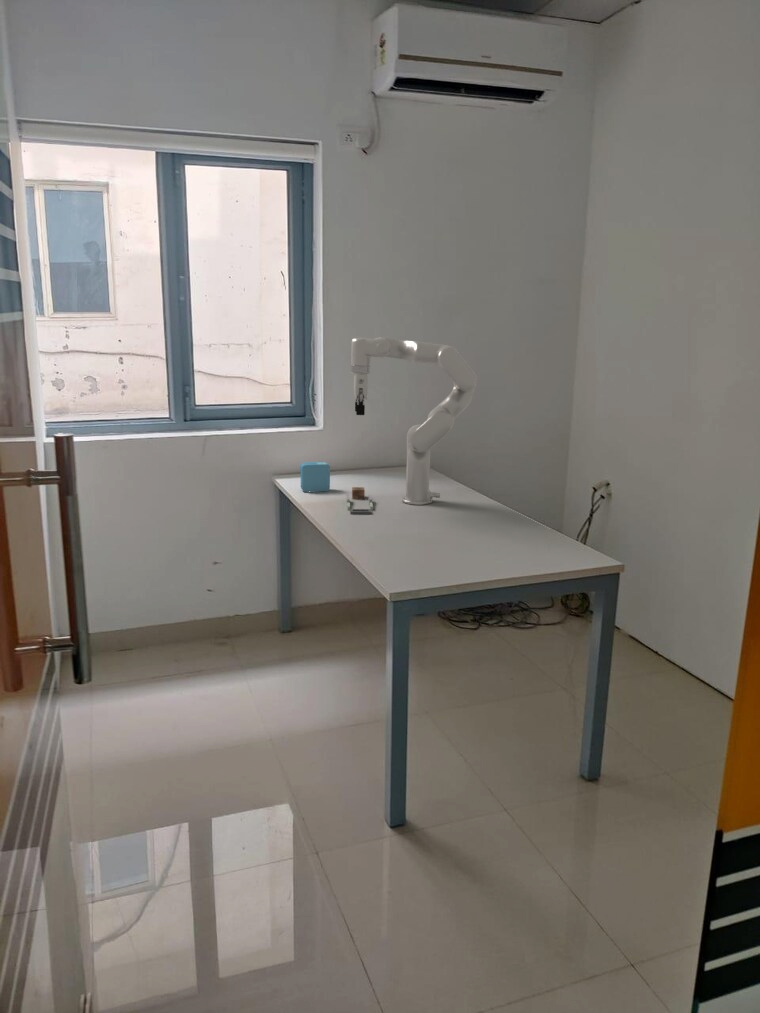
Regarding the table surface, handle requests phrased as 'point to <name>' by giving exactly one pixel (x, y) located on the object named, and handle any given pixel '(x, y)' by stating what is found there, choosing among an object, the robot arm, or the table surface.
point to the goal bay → (349, 506)
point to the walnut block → (358, 492)
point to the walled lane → (369, 499)
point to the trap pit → (360, 511)
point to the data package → (315, 476)
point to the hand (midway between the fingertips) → (359, 413)
